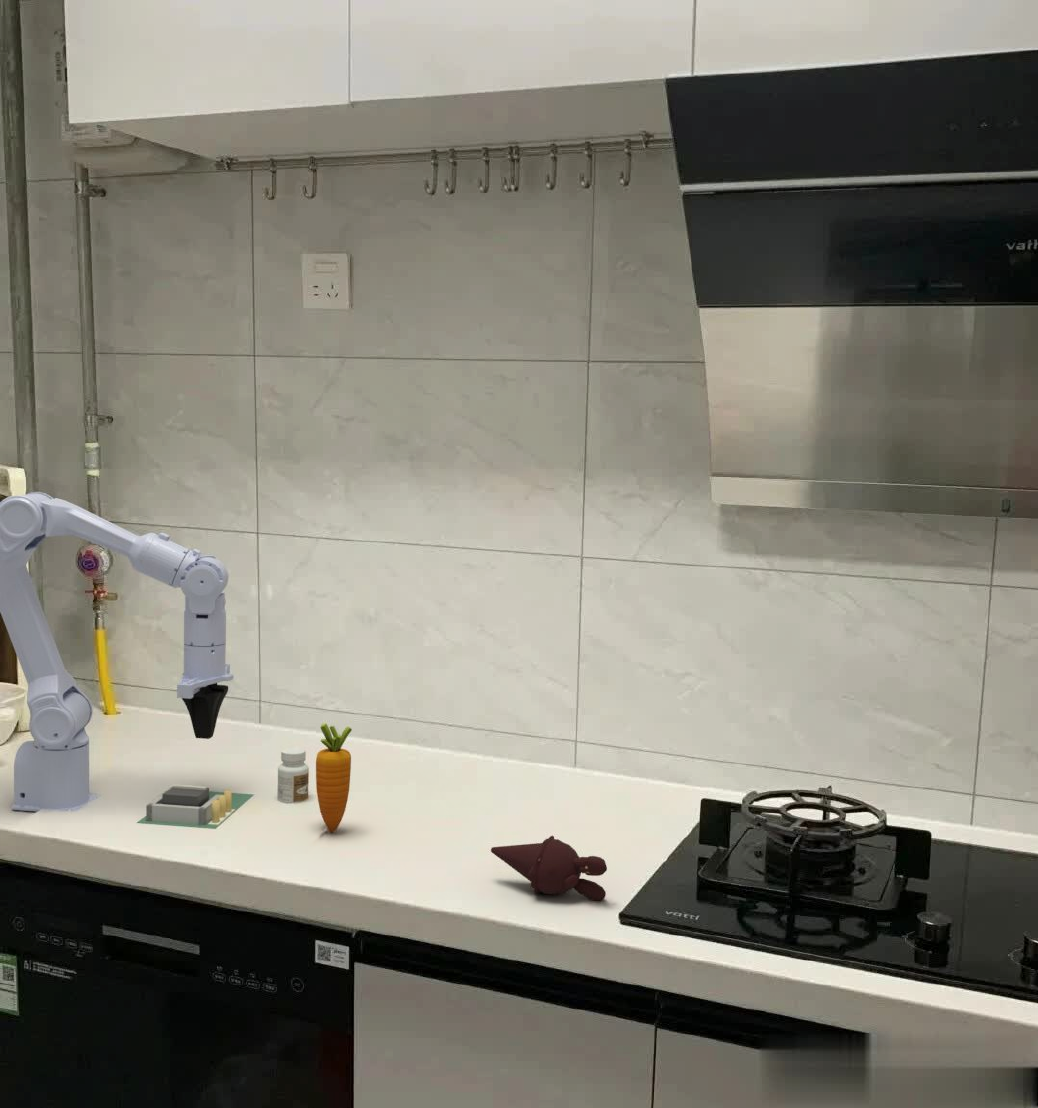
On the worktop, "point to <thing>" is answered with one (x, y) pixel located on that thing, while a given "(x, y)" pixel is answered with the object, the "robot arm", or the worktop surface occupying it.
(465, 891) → the worktop surface
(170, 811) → the header board
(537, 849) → the icecream
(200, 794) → the plug block
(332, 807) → the carrot
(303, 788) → the pill bottle
